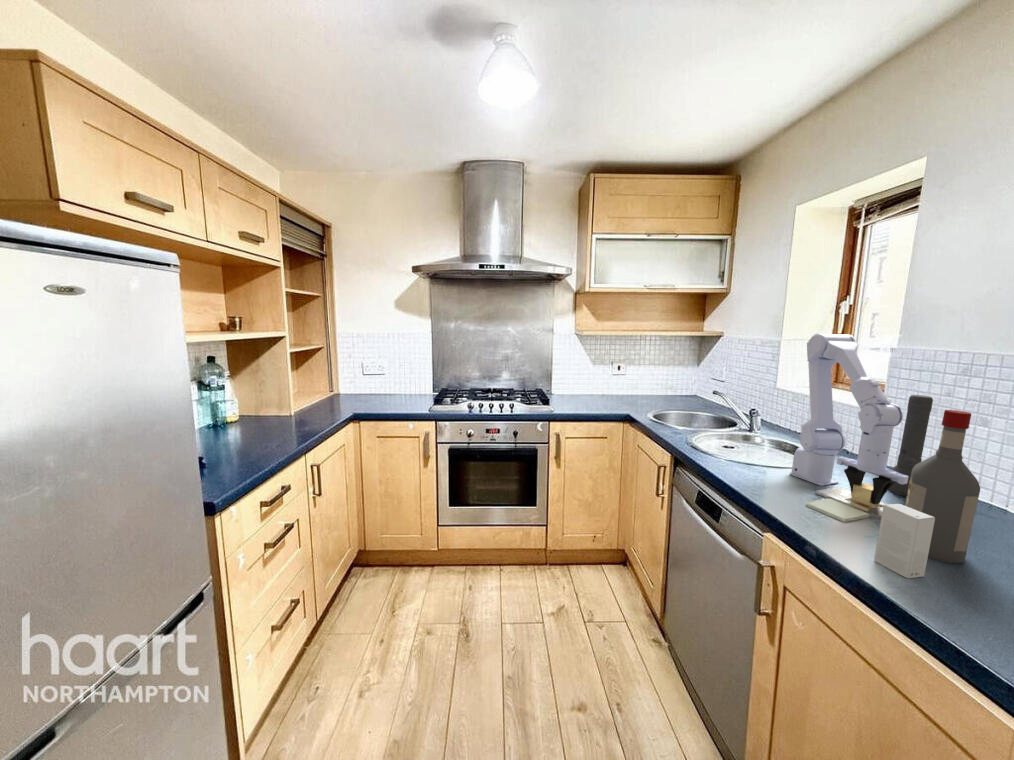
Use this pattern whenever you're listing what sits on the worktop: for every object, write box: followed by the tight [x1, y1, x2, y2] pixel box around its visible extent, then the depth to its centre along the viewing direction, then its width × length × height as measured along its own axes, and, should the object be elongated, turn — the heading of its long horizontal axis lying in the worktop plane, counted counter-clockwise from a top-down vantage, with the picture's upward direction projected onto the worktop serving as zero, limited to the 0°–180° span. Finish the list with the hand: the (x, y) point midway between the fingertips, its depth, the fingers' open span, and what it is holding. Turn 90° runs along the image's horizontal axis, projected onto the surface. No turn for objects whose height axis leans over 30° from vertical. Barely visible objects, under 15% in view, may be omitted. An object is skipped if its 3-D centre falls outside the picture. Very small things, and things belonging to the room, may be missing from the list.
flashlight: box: [887, 394, 934, 497], centre depth 113 cm, size 7×28×7 cm
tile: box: [805, 498, 870, 523], centre depth 102 cm, size 9×9×1 cm
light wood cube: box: [850, 482, 879, 509], centre depth 105 cm, size 4×4×5 cm
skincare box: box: [873, 503, 935, 579], centre depth 77 cm, size 6×4×12 cm
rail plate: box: [815, 486, 888, 520], centre depth 106 cm, size 18×10×1 cm, turn 20°
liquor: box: [904, 409, 981, 564], centre depth 83 cm, size 9×9×30 cm
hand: (865, 499), depth 105 cm, fingers closed on light wood cube, 4 cm apart
